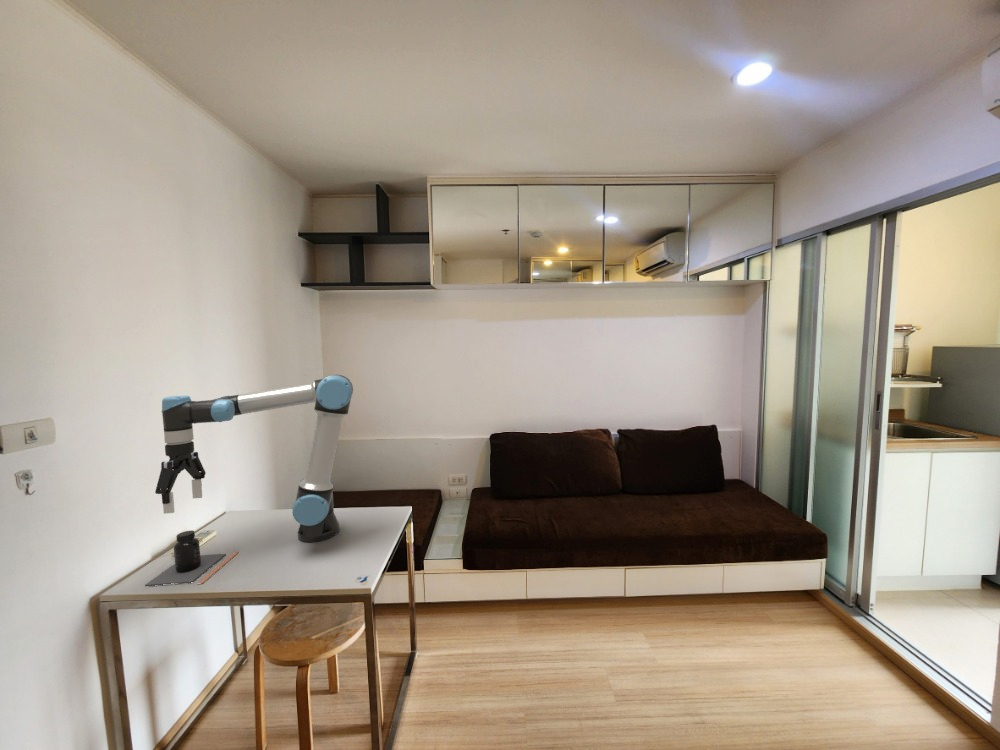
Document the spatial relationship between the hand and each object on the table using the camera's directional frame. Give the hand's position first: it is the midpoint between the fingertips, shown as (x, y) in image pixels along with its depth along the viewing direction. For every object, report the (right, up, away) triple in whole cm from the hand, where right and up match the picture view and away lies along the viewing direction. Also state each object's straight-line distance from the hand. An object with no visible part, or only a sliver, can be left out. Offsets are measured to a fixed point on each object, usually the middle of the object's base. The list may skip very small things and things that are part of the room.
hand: (184, 505), depth 134 cm
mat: (+1, -22, +1) cm, 22 cm away
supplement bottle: (+1, -22, +1) cm, 22 cm away
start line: (+11, -22, +2) cm, 24 cm away
